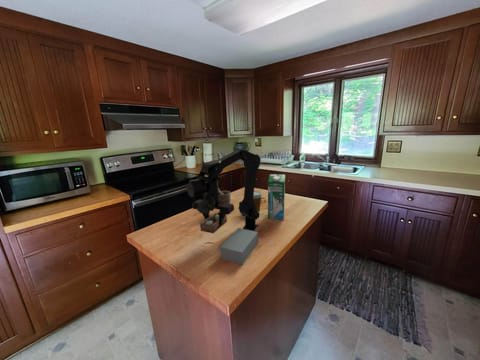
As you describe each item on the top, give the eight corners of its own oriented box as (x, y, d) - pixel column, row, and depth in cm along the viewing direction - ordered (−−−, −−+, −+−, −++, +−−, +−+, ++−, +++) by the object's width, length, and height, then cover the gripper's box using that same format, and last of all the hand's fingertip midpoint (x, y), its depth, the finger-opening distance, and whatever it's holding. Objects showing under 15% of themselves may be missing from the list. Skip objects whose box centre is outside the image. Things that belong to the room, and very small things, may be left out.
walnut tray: (213, 233, 88) (212, 225, 87) (200, 230, 90) (199, 223, 89) (226, 221, 98) (226, 214, 97) (215, 219, 101) (214, 212, 100)
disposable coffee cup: (244, 211, 133) (243, 193, 130) (254, 206, 139) (253, 190, 137) (255, 215, 126) (255, 196, 123) (265, 210, 133) (265, 192, 130)
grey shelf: (238, 238, 101) (238, 228, 99) (258, 242, 96) (257, 231, 95) (220, 258, 85) (220, 247, 84) (242, 264, 81) (242, 252, 80)
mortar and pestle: (220, 217, 125) (219, 185, 120) (211, 213, 130) (209, 183, 125) (234, 211, 133) (232, 181, 128) (224, 208, 139) (223, 179, 134)
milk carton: (267, 218, 121) (268, 177, 115) (269, 212, 129) (269, 173, 123) (283, 220, 119) (284, 177, 113) (284, 213, 127) (285, 174, 121)
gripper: (182, 194, 87) (186, 228, 91) (220, 199, 79) (223, 236, 83) (198, 187, 97) (201, 218, 101) (234, 191, 89) (235, 224, 93)
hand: (214, 224), depth 94 cm, fingers closed on walnut tray, 6 cm apart
